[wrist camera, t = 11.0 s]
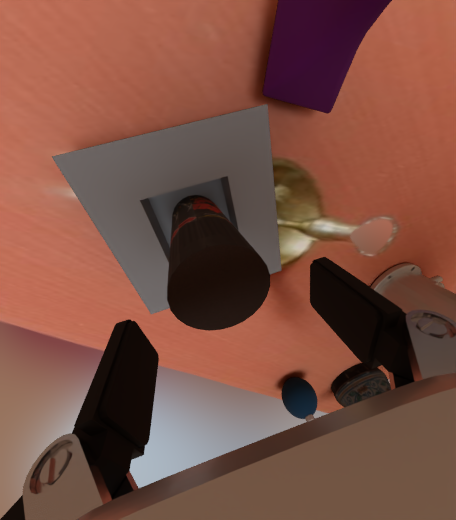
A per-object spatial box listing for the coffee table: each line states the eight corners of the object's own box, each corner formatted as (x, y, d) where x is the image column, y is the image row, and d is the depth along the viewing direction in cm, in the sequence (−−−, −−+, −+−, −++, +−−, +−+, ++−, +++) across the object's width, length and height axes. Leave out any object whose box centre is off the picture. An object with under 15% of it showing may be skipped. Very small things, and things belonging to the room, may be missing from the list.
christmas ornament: (270, 385, 49) (289, 432, 41) (294, 367, 48) (319, 412, 39) (286, 391, 54) (307, 436, 45) (309, 374, 52) (335, 417, 43)
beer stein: (382, 368, 62) (489, 478, 41) (337, 400, 66) (412, 515, 45) (363, 355, 54) (484, 484, 33) (313, 393, 58) (391, 528, 37)
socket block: (250, 114, 20) (267, 104, 16) (267, 255, 29) (281, 270, 25) (77, 156, 18) (51, 156, 14) (154, 292, 28) (151, 314, 24)
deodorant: (161, 221, 22) (142, 303, 10) (194, 183, 21) (222, 219, 9) (198, 249, 25) (221, 342, 13) (229, 217, 24) (288, 283, 11)
